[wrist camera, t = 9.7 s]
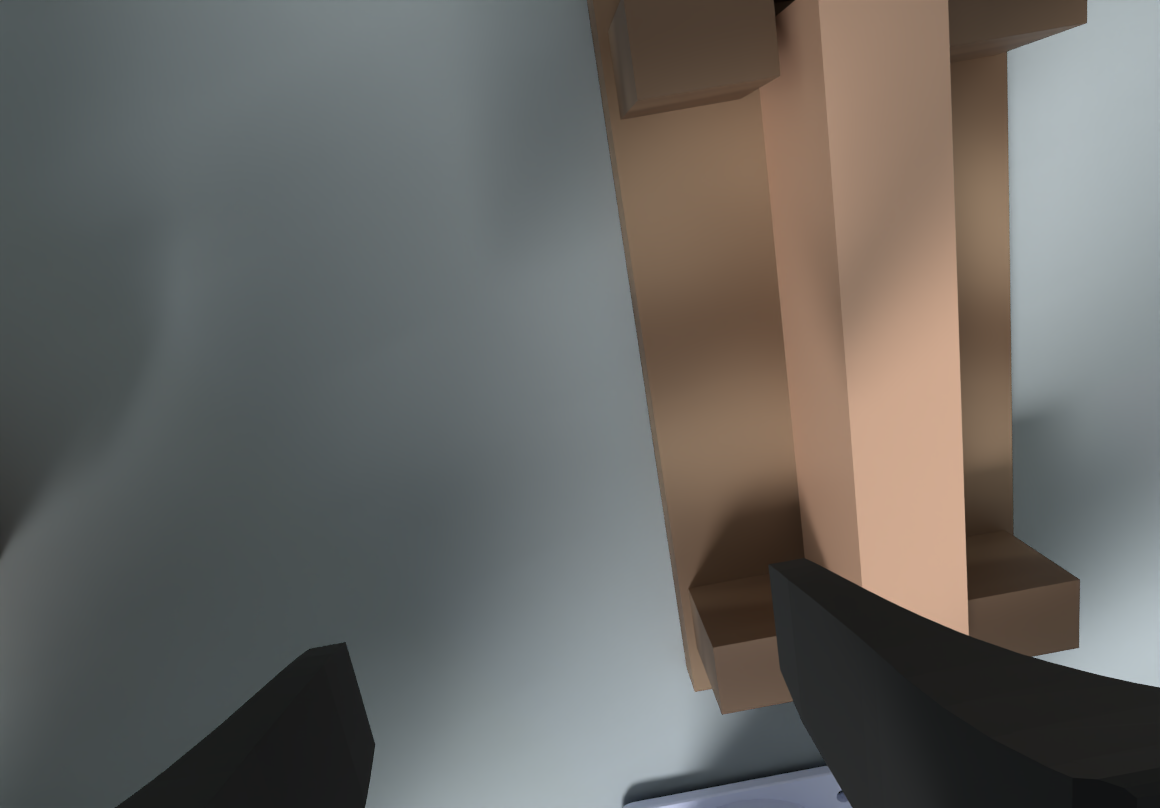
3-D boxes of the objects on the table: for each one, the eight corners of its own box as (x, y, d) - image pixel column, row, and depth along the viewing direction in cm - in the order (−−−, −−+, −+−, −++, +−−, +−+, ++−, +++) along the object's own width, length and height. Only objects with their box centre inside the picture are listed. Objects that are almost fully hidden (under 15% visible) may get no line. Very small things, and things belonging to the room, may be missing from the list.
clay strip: (892, 599, 22) (970, 683, 18) (810, 614, 21) (871, 702, 18) (855, 17, 17) (946, -41, 14) (754, 34, 17) (817, -19, 14)
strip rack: (990, 611, 23) (1087, 694, 19) (686, 668, 23) (719, 764, 19) (974, -86, 18) (1101, -175, 14) (584, -20, 18) (598, -90, 14)
